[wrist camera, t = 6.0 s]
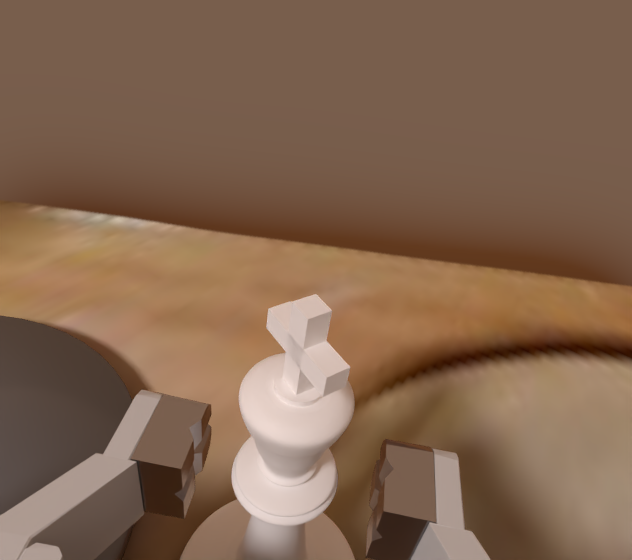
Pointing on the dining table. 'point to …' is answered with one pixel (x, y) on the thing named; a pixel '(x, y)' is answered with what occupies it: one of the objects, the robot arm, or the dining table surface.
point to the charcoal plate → (53, 410)
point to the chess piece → (286, 449)
